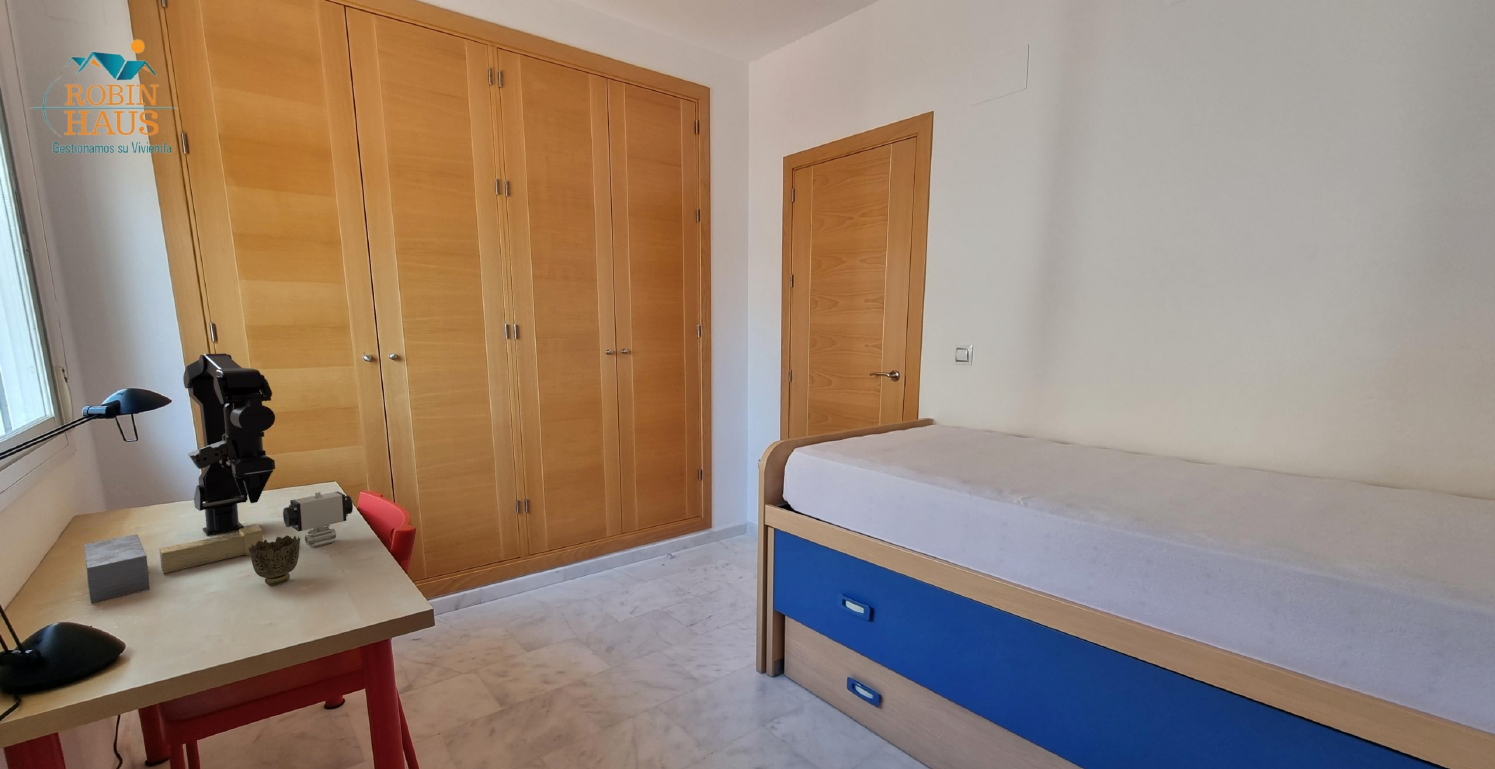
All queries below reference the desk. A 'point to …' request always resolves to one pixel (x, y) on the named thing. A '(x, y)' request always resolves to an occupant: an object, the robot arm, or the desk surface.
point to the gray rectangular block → (116, 568)
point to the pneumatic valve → (318, 516)
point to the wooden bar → (209, 549)
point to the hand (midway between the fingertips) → (249, 498)
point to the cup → (275, 559)
